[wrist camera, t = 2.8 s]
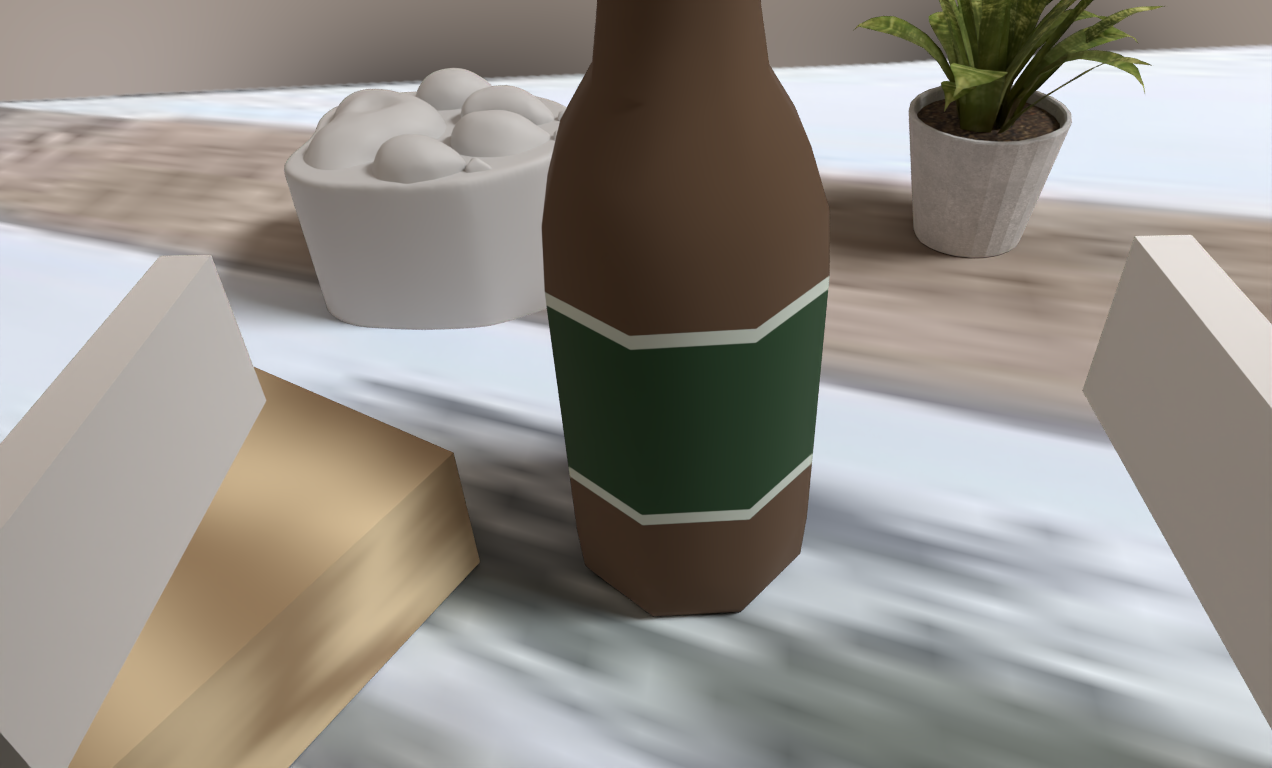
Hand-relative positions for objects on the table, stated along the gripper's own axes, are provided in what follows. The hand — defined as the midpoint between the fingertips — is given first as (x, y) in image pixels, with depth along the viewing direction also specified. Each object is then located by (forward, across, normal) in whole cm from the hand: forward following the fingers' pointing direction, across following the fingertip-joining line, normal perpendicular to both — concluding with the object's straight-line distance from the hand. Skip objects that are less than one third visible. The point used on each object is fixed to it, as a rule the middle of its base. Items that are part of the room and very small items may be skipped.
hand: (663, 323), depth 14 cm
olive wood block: (+6, -15, -16) cm, 23 cm away
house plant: (+28, +15, -16) cm, 35 cm away
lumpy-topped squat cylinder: (+28, -10, -16) cm, 33 cm away
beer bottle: (+10, 0, -16) cm, 19 cm away
